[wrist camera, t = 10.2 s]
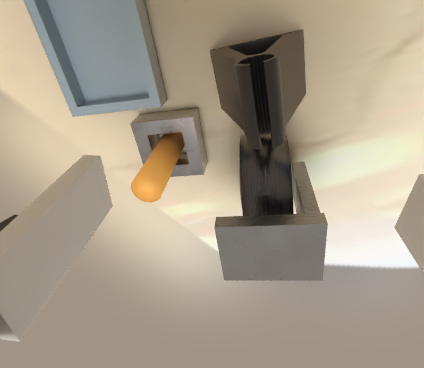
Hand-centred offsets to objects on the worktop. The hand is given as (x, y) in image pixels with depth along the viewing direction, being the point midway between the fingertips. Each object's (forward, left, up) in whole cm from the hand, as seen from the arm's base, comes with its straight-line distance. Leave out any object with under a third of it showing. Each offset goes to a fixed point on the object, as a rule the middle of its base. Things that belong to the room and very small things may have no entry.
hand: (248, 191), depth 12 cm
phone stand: (-1, +1, -21) cm, 21 cm away
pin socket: (+6, -10, -21) cm, 24 cm away
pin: (+6, -10, -21) cm, 24 cm away
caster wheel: (+10, +1, -21) cm, 23 cm away
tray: (-6, -15, -21) cm, 26 cm away
